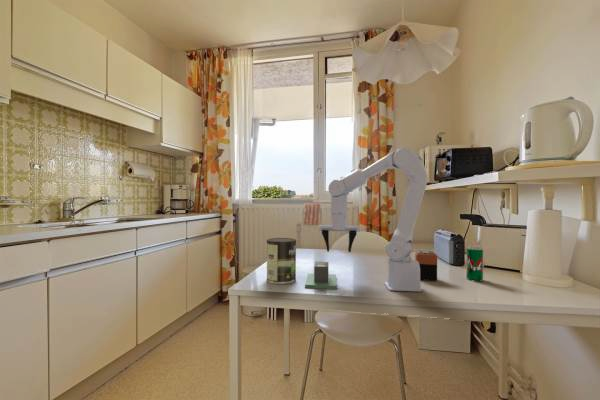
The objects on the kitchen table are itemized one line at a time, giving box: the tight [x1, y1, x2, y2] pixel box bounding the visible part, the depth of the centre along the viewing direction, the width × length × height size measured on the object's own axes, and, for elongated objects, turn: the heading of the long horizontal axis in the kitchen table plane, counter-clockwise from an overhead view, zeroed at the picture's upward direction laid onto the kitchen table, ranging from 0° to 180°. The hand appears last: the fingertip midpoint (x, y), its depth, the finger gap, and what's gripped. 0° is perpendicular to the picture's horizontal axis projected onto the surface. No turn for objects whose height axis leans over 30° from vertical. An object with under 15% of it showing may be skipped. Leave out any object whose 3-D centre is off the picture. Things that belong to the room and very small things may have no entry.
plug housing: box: [313, 261, 329, 282], centre depth 97 cm, size 5×8×5 cm, turn 174°
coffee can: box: [266, 237, 297, 285], centre depth 100 cm, size 10×10×14 cm
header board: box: [304, 273, 338, 290], centre depth 97 cm, size 10×14×4 cm
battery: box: [414, 250, 438, 282], centre depth 102 cm, size 4×7×10 cm, turn 74°
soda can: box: [465, 244, 484, 282], centre depth 102 cm, size 5×5×12 cm
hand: (338, 251), depth 104 cm, fingers open, 7 cm apart
